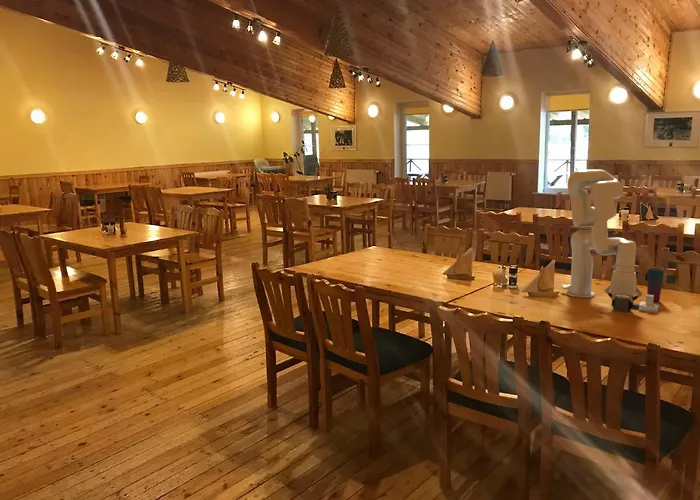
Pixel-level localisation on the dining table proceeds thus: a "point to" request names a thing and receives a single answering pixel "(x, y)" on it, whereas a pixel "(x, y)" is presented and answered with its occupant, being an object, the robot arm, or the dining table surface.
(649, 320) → the dining table surface
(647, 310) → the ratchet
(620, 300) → the socket
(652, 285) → the cup
